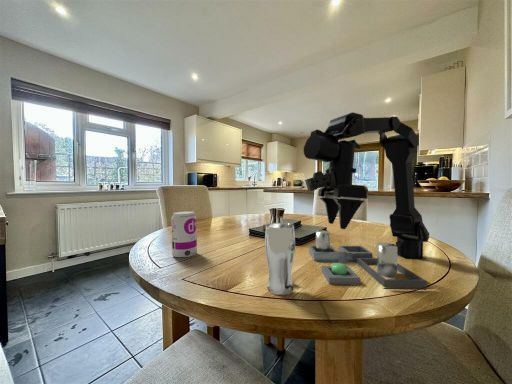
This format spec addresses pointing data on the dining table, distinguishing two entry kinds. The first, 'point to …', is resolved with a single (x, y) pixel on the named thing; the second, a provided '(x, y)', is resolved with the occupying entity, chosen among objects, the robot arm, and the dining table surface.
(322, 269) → the button housing
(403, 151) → the robot arm
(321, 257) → the grey shallow tray
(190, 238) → the supplement can
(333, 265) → the button
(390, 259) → the billet
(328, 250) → the seated billet
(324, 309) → the dining table surface
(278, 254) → the silver vase
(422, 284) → the grey rectangular frame
